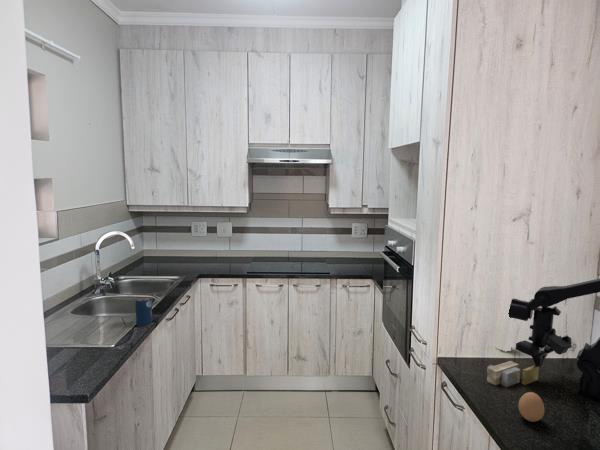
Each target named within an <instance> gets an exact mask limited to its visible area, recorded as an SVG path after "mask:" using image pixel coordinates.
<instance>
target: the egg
mask: <svg viewBox="0 0 600 450" xmlns="http://www.w3.org/2000/svg"><path fill="white" fill-rule="evenodd" d="M518 411H519V414H520V415H521V416H522V417H523V418H524V420H527V421H528V422H531V423H534V422H538V421H540V420H542V418H543V417H544V415H545V404H544V402H543V399H542V398H541V397H540V396H539V395H538V394H537V393H536V392H533V391H531V392H529V391H528V392H526V393H524V394H522V396H521V397H520V398H519V401H518Z"/></svg>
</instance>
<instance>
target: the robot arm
mask: <svg viewBox="0 0 600 450" xmlns="http://www.w3.org/2000/svg"><path fill="white" fill-rule="evenodd" d="M598 293H600V278H599V277H598V278H595V279H592V280H586V281H582V282H577V283H573V284H569V285H561V286H560V285H559V286H557V285H555V286H554V285H553V286H552V285H550V286H542V287H540V288H539V289H538V290H537V291H536V292H535V293H534V295H533V298H531V299H530V300H529V301H527V300H520V299H519V298H512V299H511V301H510V302H511V304H510V309H509V313H508V314H509V317H510V318H514V320H521V321H524V322H528V321H529V320H531V319H532V318H533V320H532V324H530V325H529V329H530V330H531V336H528V341H527V340H521V341H518V342H517V343H515V351H517V352H520V353H522V354H524V355H525V354H526V355H527V356H530V357H531V358H532V360H533V363H534V365H537V366H539V369H541V368H542V366H543V364H544V361H545V360H546V358H547V356H548V354H550V353H552V352H554V353H555V354H557V355H562V354H566V353H567V352H568V350H569V349H570V348H572V337H570V336H569V335H565V336H561V335H557V331H556V328H553V323H554V316H557V317H558V316H560V314H561V313H562V311H561V310H560V309H558V306H556V305H557V304H559V303H561V302H564V301H566V300H568V299H574V298H578V297H583V296H587V295H593V294H598ZM554 305H555V306H554ZM551 306H553V307H551ZM530 341H531V342H530ZM576 359H577V360H576V366H577V369H578V370H579V371H580V372H582V373H581V376H580V377H579V378H578V379H579V380H578V388H577V389H578V390H577V391H576V393H577V394H578V395H581V396H583V397H585V398H588V399H589V400H592V401H594V402H597V403H600V337H598V338H597V340H596V341H595V342H594V343H592V344H589V343H588V342H585V344H584V346H583V348H582V349H580V350H578V353H577V355H576Z"/></svg>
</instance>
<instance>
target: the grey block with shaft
mask: <svg viewBox="0 0 600 450" xmlns="http://www.w3.org/2000/svg"><path fill="white" fill-rule="evenodd" d="M493 366H494V365H493V364H489V365H488V366H487V368H486V372H487V374H488V368H489V367H493ZM521 372H522V371H521V368H519V367H518V368H516V367H514V368H511V369H508V370H505V371H502V378H501V383H500V385H501V386H503V387H505V388H509V387H510V386H514V385H516V384H518V383H519V384H520V379H521Z"/></svg>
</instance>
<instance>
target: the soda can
mask: <svg viewBox="0 0 600 450" xmlns="http://www.w3.org/2000/svg"><path fill="white" fill-rule="evenodd" d="M134 305H135V323H136V325H137V326H138V327H141V328H142V327H149V326H150V325H151V324H152V322H153V301H152V300H151V297H148V296H141V297H138V298H136V301H135V304H134Z"/></svg>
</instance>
